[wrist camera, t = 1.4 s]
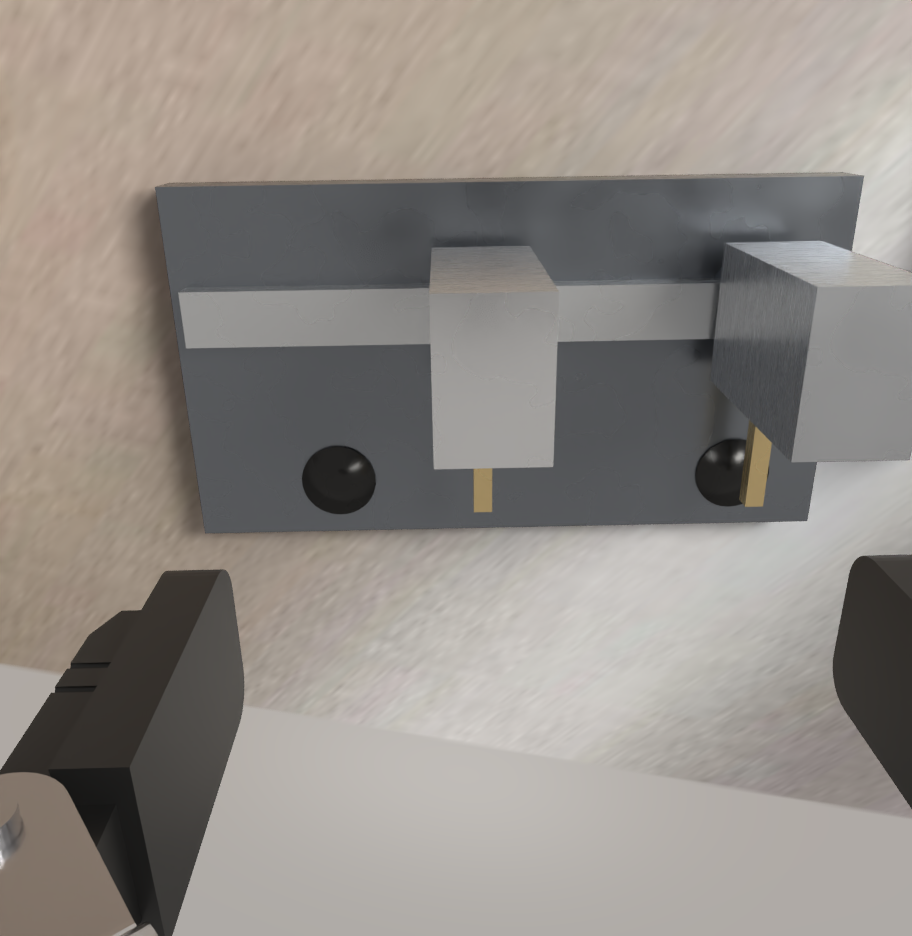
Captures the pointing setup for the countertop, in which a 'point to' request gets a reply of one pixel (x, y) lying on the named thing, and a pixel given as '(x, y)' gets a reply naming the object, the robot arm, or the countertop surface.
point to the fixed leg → (814, 355)
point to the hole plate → (409, 350)
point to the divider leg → (492, 362)
